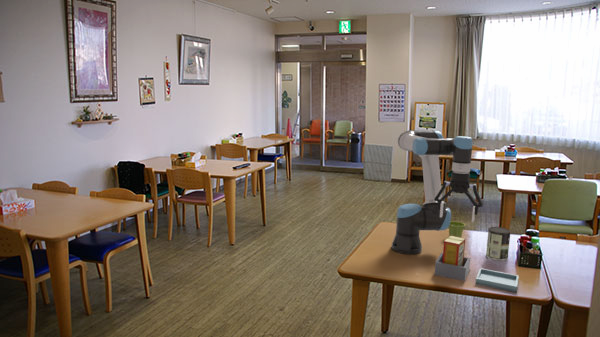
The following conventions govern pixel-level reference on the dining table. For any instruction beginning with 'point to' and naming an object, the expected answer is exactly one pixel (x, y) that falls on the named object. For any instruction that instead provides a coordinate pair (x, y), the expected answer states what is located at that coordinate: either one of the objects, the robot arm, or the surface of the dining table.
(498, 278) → the tray
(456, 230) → the plant pot
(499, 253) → the coffee can
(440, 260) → the box
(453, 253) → the baking soda box
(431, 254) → the dining table surface
